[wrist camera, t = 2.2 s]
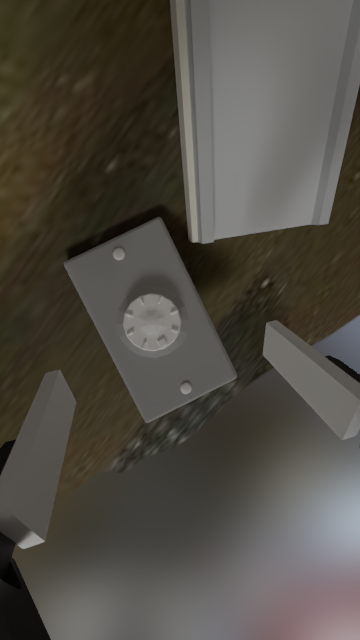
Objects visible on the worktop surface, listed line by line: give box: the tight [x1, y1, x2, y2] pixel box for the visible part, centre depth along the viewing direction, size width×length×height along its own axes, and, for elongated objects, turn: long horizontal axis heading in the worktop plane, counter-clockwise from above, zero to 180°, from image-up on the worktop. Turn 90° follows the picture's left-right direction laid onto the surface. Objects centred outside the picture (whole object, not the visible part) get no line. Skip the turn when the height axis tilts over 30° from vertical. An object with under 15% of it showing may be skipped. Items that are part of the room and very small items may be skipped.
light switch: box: [64, 217, 237, 423], centre depth 19 cm, size 8×6×14 cm
